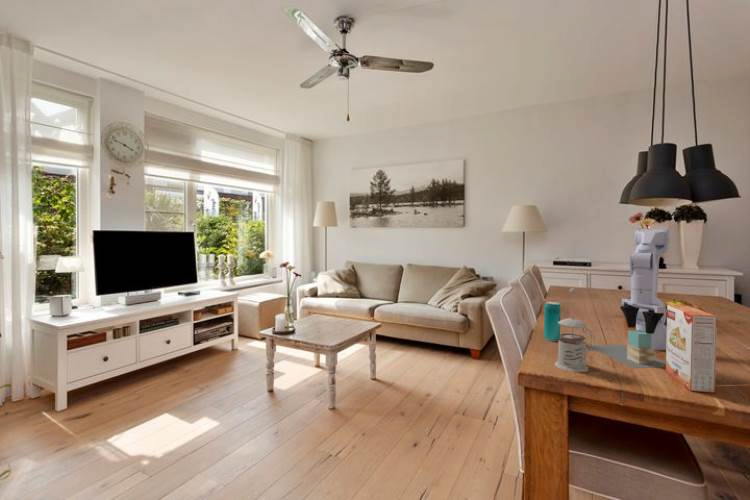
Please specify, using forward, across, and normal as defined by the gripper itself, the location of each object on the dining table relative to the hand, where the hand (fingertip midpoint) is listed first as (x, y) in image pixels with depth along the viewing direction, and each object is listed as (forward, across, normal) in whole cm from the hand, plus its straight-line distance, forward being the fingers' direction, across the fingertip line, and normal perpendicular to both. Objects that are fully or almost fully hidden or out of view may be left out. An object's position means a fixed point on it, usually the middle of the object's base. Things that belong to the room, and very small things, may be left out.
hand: (640, 330), depth 120 cm
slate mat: (+10, -5, 0) cm, 12 cm away
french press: (+11, +2, -24) cm, 26 cm away
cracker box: (+11, +17, 0) cm, 20 cm away
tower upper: (+8, 0, 0) cm, 8 cm away
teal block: (+5, 0, 0) cm, 5 cm away
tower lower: (+10, 0, 0) cm, 10 cm away
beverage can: (+11, -26, -15) cm, 32 cm away
